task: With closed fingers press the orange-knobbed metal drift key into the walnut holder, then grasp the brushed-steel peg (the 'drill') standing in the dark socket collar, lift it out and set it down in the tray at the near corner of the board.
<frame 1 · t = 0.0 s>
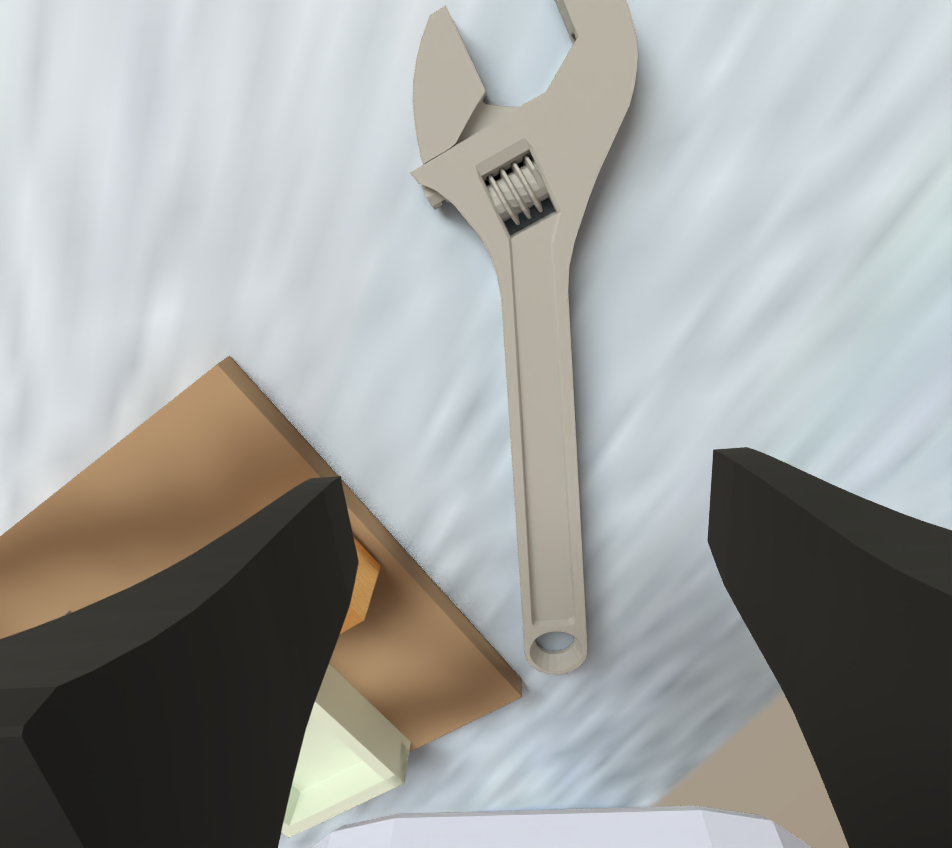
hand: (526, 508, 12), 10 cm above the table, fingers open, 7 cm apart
holder: (111, 680, 28), on the table
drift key: (242, 627, 23), point 3 cm above the table, slide at 0.0 cm
adjustable wrench: (518, 379, 22), on the table
tray: (311, 706, 28), resting on holder
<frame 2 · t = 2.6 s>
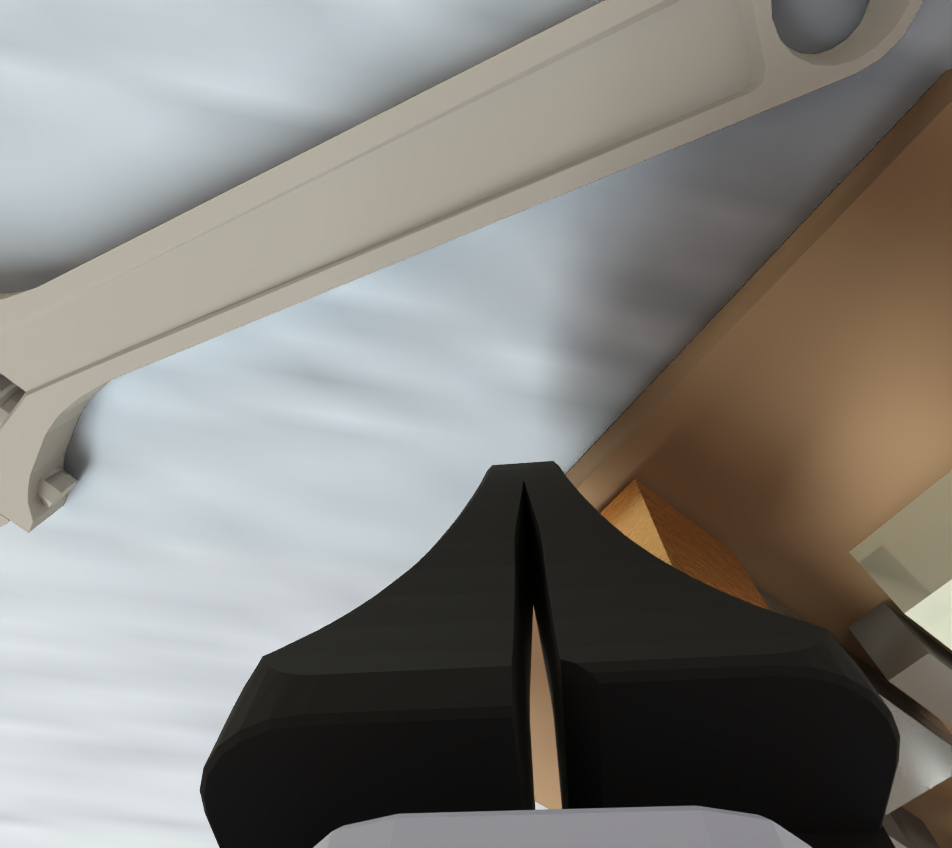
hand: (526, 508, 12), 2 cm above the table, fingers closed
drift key: (782, 695, 13), point 3 cm above the table, slide at 0.1 cm, touching gripper
adjustable wrench: (266, 287, 13), on the table
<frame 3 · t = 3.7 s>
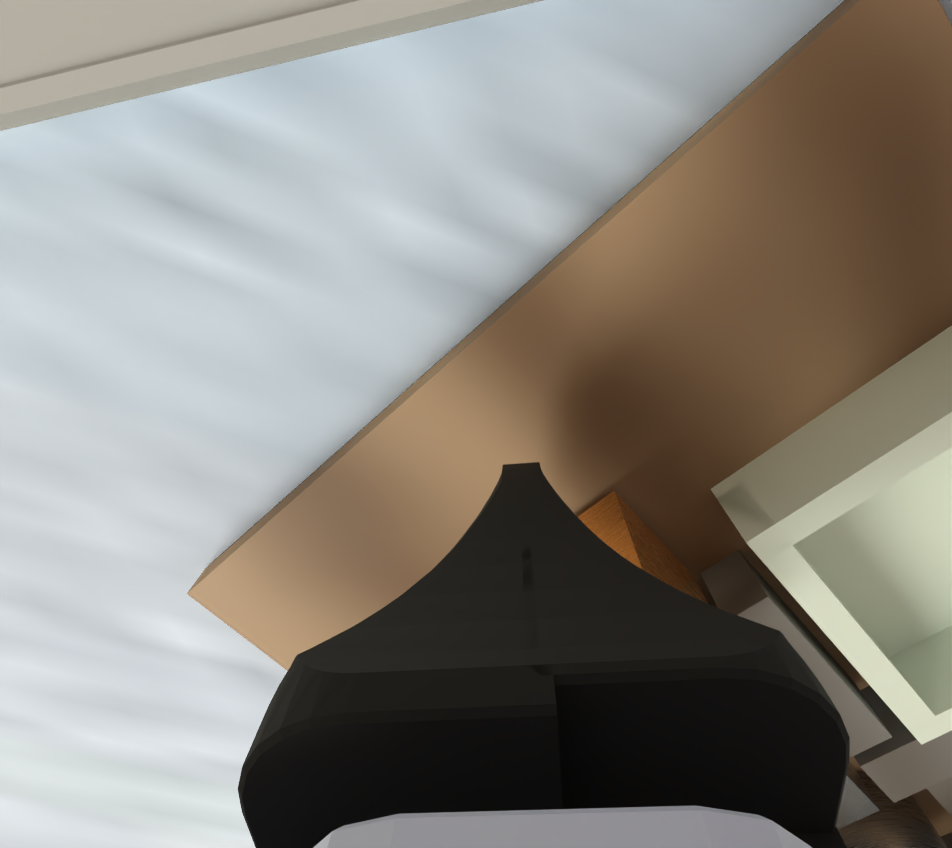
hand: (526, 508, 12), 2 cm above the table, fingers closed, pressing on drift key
peg: (846, 816, 17), point 1 cm above the table, touching holder
holder: (810, 764, 17), on the table
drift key: (718, 722, 13), point 3 cm above the table, slide at 3.8 cm, touching gripper
adjustable wrench: (139, 78, 12), on the table
tray: (911, 477, 14), resting on holder
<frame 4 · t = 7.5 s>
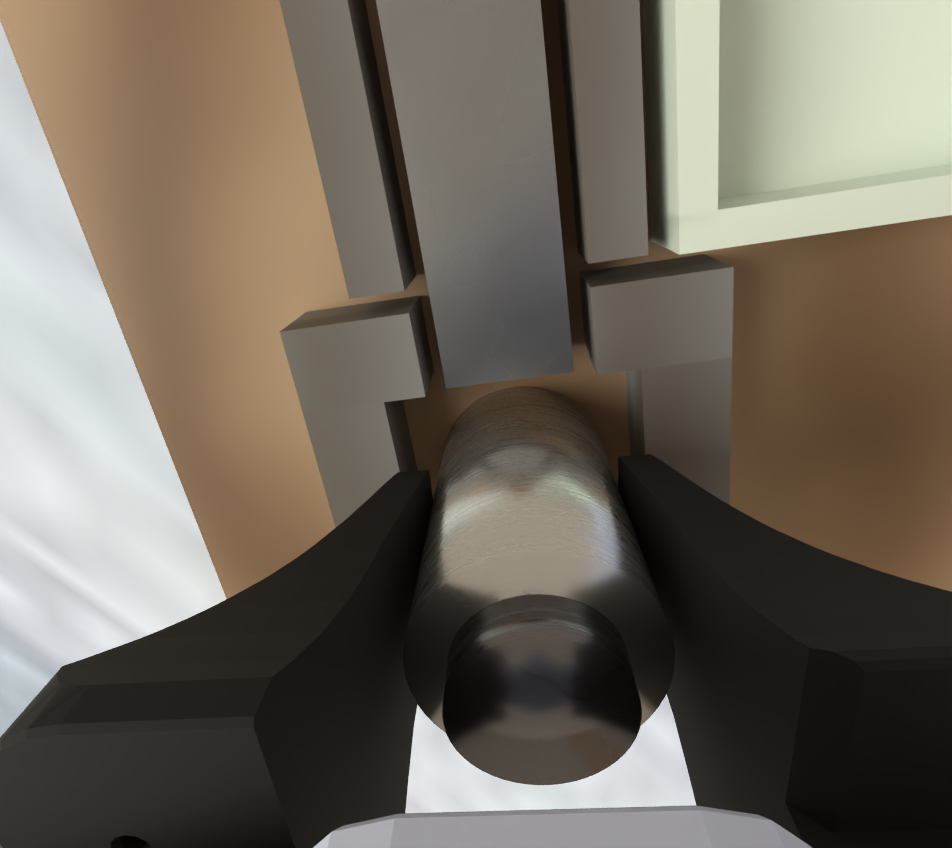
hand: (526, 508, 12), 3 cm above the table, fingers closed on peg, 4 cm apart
peg: (522, 461, 13), point 1 cm above the table, touching gripper, holder
holder: (516, 404, 14), on the table
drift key: (464, 53, 9), point 3 cm above the table, slide at 3.5 cm
tray: (828, 10, 11), resting on holder
when the fingers open (4 cm above the table, at t = 10.6 s): peg stays where it is, resting on tray.
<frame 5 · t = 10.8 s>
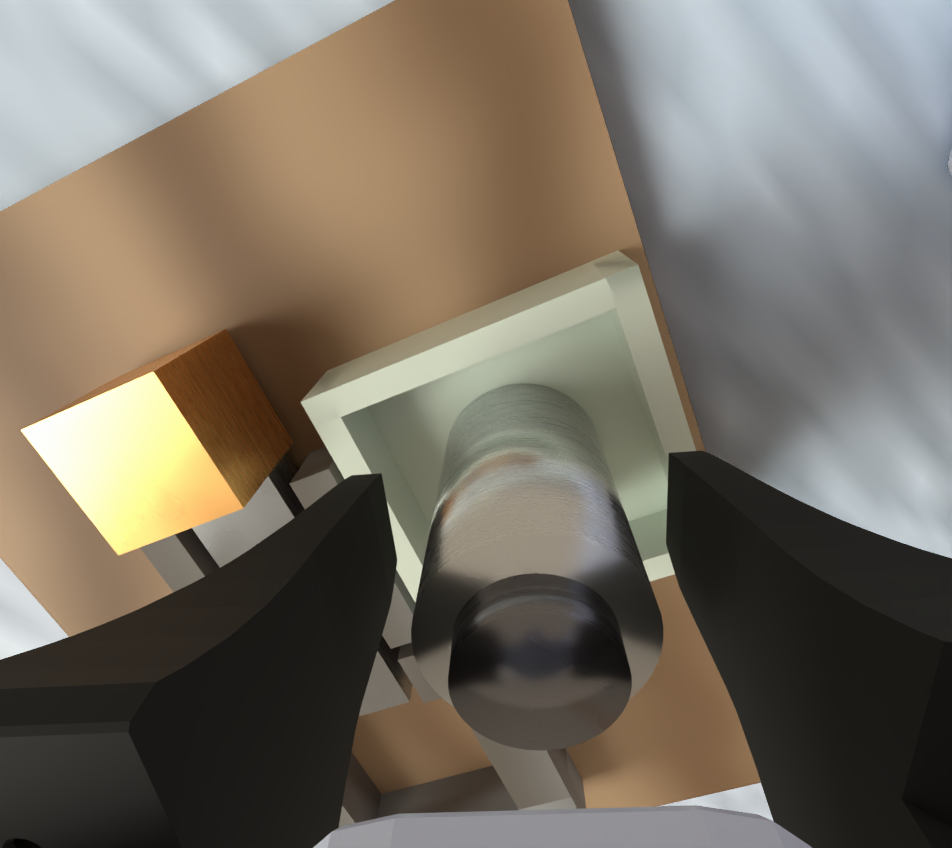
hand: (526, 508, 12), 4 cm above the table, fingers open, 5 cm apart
peg: (522, 455, 14), point 1 cm above the table, touching tray
holder: (406, 678, 19), on the table
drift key: (265, 571, 14), point 3 cm above the table, slide at 3.5 cm
tray: (520, 426, 15), resting on holder
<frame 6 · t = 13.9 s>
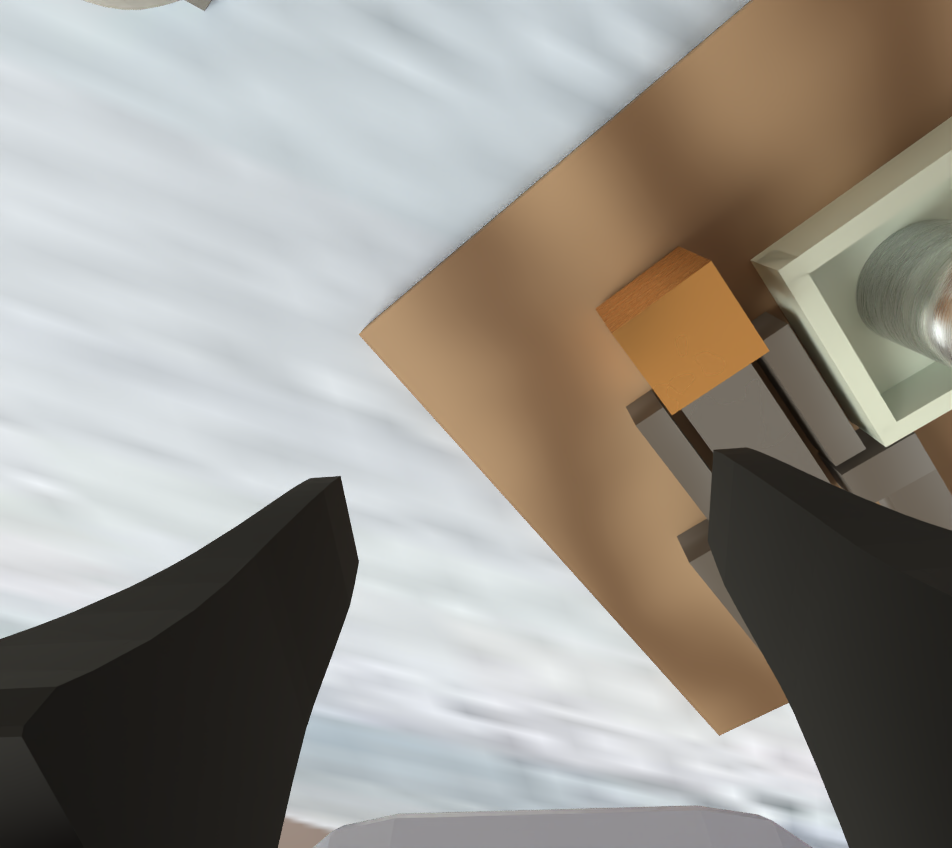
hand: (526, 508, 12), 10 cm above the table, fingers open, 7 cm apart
peg: (918, 282, 18), point 1 cm above the table, touching tray
holder: (802, 520, 23), on the table
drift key: (740, 421, 18), point 3 cm above the table, slide at 3.5 cm
tray: (890, 270, 19), resting on holder
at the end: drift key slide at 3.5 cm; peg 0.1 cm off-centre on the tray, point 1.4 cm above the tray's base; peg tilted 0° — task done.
